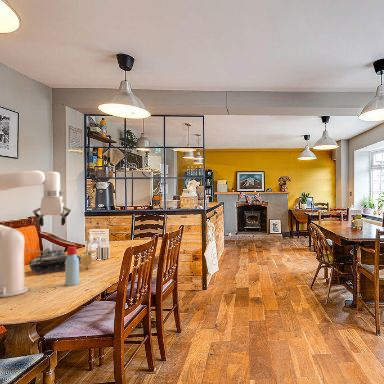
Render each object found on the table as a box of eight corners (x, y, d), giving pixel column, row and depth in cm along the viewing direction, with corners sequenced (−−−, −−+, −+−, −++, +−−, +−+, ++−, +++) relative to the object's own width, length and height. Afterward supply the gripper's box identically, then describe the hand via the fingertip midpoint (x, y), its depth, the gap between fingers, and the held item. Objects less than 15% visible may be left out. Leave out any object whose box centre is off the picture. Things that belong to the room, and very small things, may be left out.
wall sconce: (94, 270, 182) (94, 231, 181) (77, 272, 179) (77, 232, 178) (99, 265, 195) (98, 228, 195) (83, 266, 192) (82, 229, 192)
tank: (24, 271, 180) (24, 248, 180) (80, 263, 201) (79, 242, 201) (25, 277, 168) (25, 252, 168) (85, 267, 189) (84, 245, 189)
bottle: (70, 286, 152) (70, 250, 152) (62, 284, 155) (62, 249, 155) (81, 282, 158) (81, 247, 158) (74, 281, 161) (73, 246, 161)
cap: (66, 254, 155) (66, 247, 155) (73, 252, 159) (73, 246, 159) (70, 255, 154) (70, 248, 154) (77, 253, 157) (77, 246, 157)
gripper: (72, 193, 162) (72, 223, 162) (35, 194, 155) (35, 225, 156) (69, 194, 155) (69, 225, 155) (30, 194, 148) (30, 227, 149)
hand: (52, 225), depth 155 cm, fingers open, 9 cm apart
